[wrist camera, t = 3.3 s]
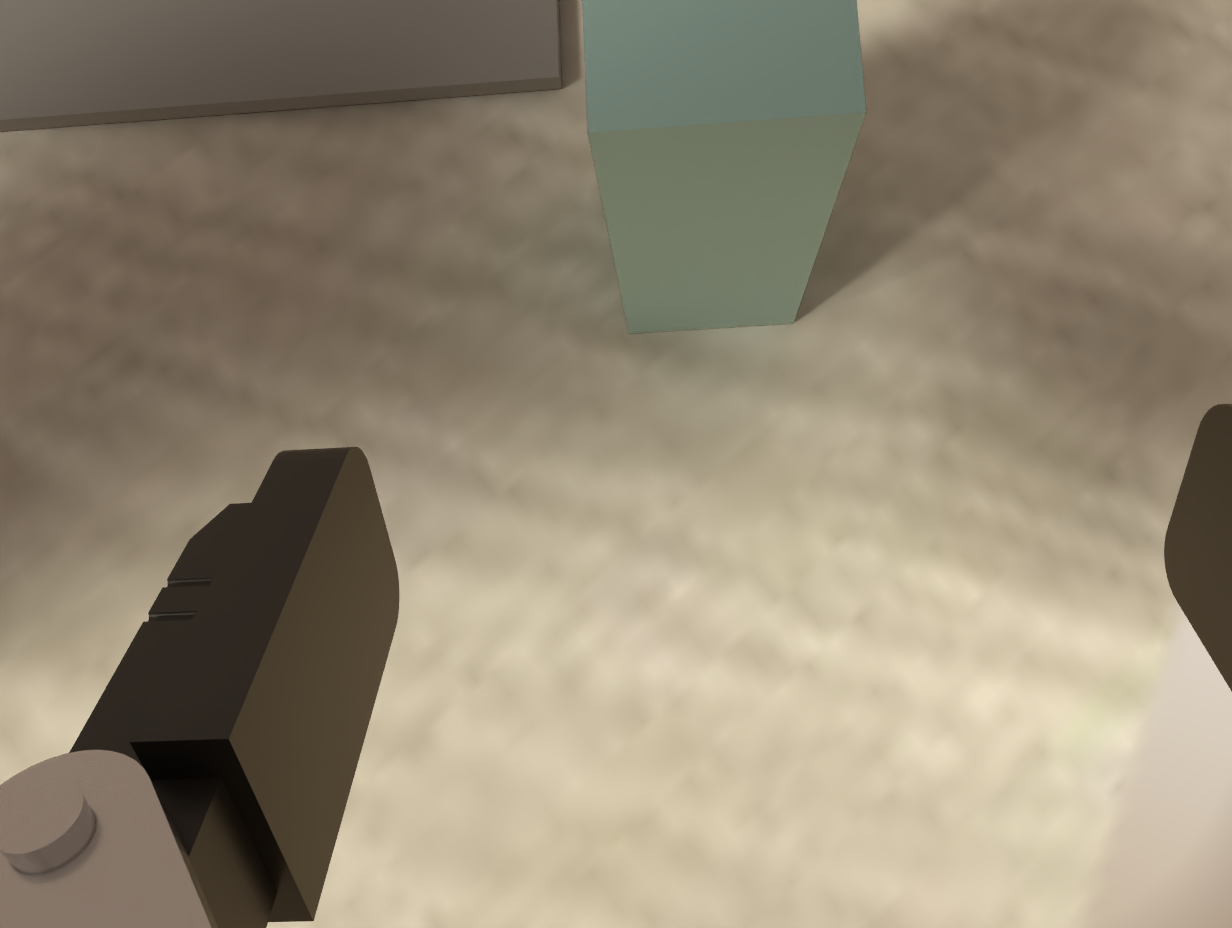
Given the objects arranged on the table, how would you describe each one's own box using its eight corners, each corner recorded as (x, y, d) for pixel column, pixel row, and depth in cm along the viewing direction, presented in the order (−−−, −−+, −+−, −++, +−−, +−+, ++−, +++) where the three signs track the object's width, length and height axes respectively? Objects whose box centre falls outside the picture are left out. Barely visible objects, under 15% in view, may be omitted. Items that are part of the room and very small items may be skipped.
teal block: (629, 333, 22) (587, 133, 13) (621, 179, 22) (577, -114, 13) (793, 323, 22) (866, 111, 13) (782, 168, 22) (844, -137, 13)
